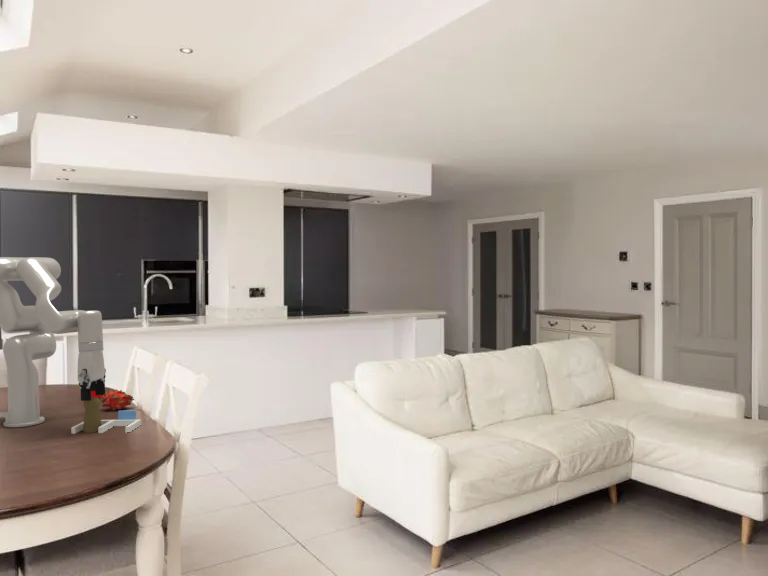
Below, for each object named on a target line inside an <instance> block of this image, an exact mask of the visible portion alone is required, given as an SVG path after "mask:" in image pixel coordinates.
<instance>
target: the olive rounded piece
mask: <svg viewBox="0 0 768 576" xmlns="http://www.w3.org/2000/svg"><path fill="white" fill-rule="evenodd" d="M82 405H83V407H84V408H85V409H84V410H85V411H84V417H83V418H84V420H83V422H84V425H83V430H82V432H83V433H87V434H88V433H89V434H90V432H91V433H97V432H96V431H98V427H100V426H102V423H101V420H102V419H101V414H100V413H101V412H100V406H101V399H99V398H94V397H93V398H91V400H90V401H83V403H82Z"/></svg>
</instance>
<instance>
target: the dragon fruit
mask: <svg viewBox="0 0 768 576" xmlns="http://www.w3.org/2000/svg"><path fill="white" fill-rule="evenodd" d="M132 401H135V398H134V397H133V395H130V394H127V393H125V391H123V390H122V389H120V390H118V389H112V390H109V391H108V392H105V395H104V396H102V398H101V399H100V403H101V404H102V408H109V411H116V410H121V409H125V410H127V409H128V406H131V404H132Z"/></svg>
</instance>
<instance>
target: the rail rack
mask: <svg viewBox="0 0 768 576" xmlns="http://www.w3.org/2000/svg"><path fill="white" fill-rule="evenodd" d="M101 423H102V426H100V427H98V433H97V434H103V433H106V432H107V431H109V430H110V429H112V428H114V427H124V429H125V430H124V431H125V434H128V433H127V432H130V433H131V432H133V431H135V430H136V429H138V428H139V427H141V426H142V419H141V418H140V419H139V418H138V419H137V410H135V409H134V410H118V411H117V419H101ZM83 425H84V421H81V422H80V423H77V424H76V425H74V426H72V427H71V433H70V434H72V435H75V434H77V433H79V432H81V431H83ZM127 425H128V426H127ZM140 425H141V426H140ZM113 426H114V427H113ZM137 427H138V428H137ZM135 428H136V429H135ZM108 429H109V430H108ZM134 429H135V430H134ZM132 430H133V431H132Z"/></svg>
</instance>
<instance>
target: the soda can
mask: <svg viewBox="0 0 768 576" xmlns="http://www.w3.org/2000/svg"><path fill="white" fill-rule="evenodd" d="M95 383H96V381H93V382H91V385H90V388H91V398H93V397H94V398H101V397H102V396H104V395H96V394H95ZM86 384H87V383H86ZM101 399H102V398H101Z"/></svg>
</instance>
